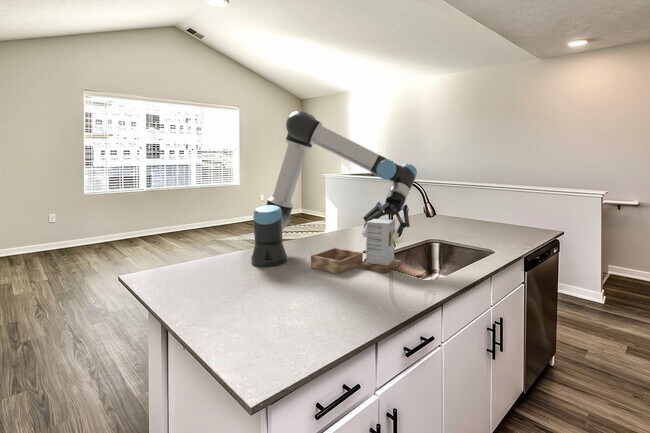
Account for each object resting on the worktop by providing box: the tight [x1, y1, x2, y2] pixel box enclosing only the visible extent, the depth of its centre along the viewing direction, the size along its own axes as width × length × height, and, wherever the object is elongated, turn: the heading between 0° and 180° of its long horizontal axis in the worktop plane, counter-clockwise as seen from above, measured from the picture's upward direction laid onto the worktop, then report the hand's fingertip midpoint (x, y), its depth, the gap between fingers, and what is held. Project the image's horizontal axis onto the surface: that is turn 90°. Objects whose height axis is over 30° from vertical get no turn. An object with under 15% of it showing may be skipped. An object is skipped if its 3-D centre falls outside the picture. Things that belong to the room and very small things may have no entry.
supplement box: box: [365, 218, 396, 266], centre depth 153 cm, size 10×9×17 cm
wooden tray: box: [310, 247, 364, 275], centre depth 155 cm, size 14×16×5 cm
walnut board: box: [358, 258, 403, 274], centre depth 154 cm, size 12×13×2 cm
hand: (378, 237), depth 150 cm, fingers open, 13 cm apart
